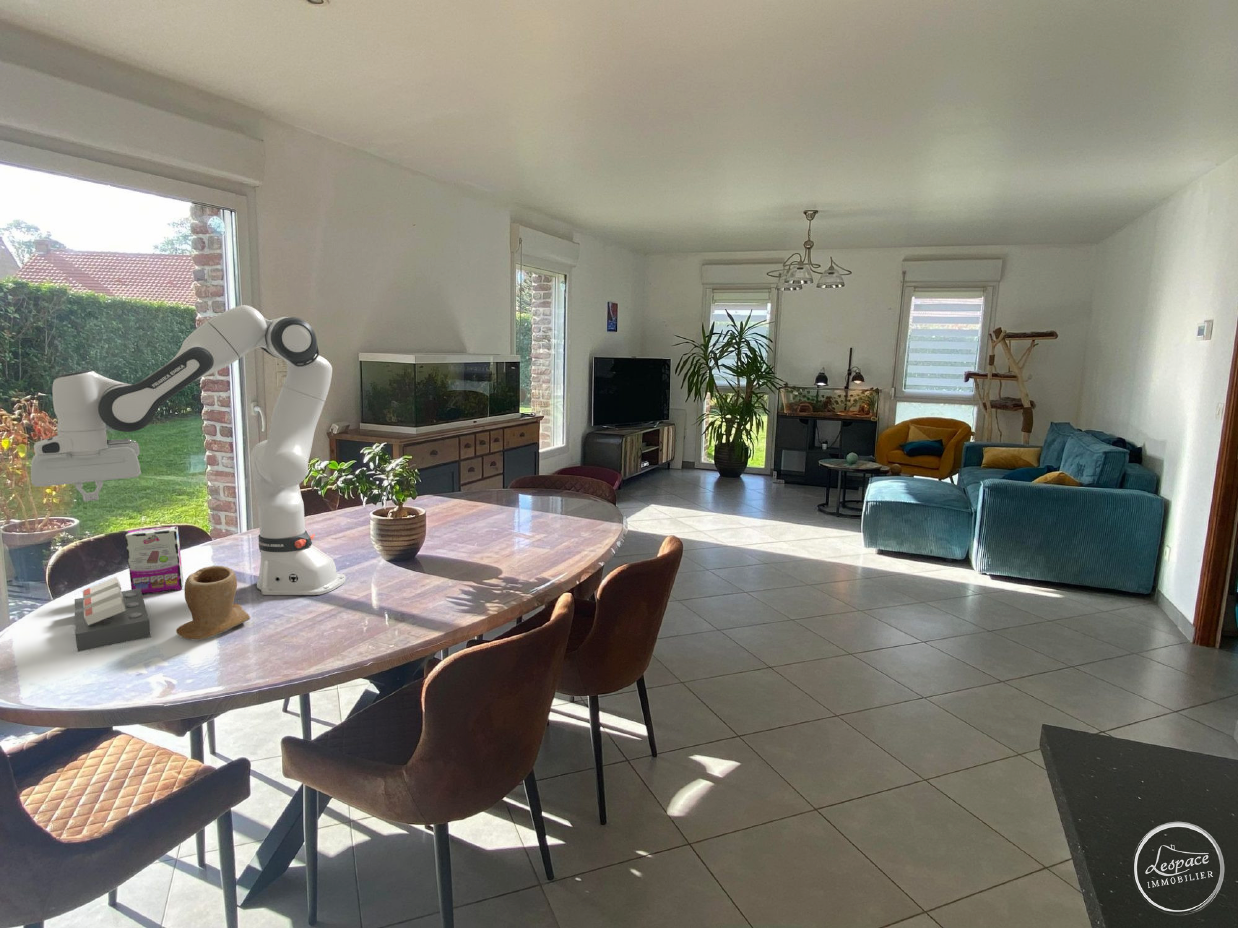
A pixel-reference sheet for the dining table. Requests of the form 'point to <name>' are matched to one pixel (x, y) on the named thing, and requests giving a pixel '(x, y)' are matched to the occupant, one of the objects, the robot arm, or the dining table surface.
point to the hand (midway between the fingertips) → (91, 500)
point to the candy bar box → (154, 560)
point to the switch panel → (113, 624)
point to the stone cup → (211, 603)
